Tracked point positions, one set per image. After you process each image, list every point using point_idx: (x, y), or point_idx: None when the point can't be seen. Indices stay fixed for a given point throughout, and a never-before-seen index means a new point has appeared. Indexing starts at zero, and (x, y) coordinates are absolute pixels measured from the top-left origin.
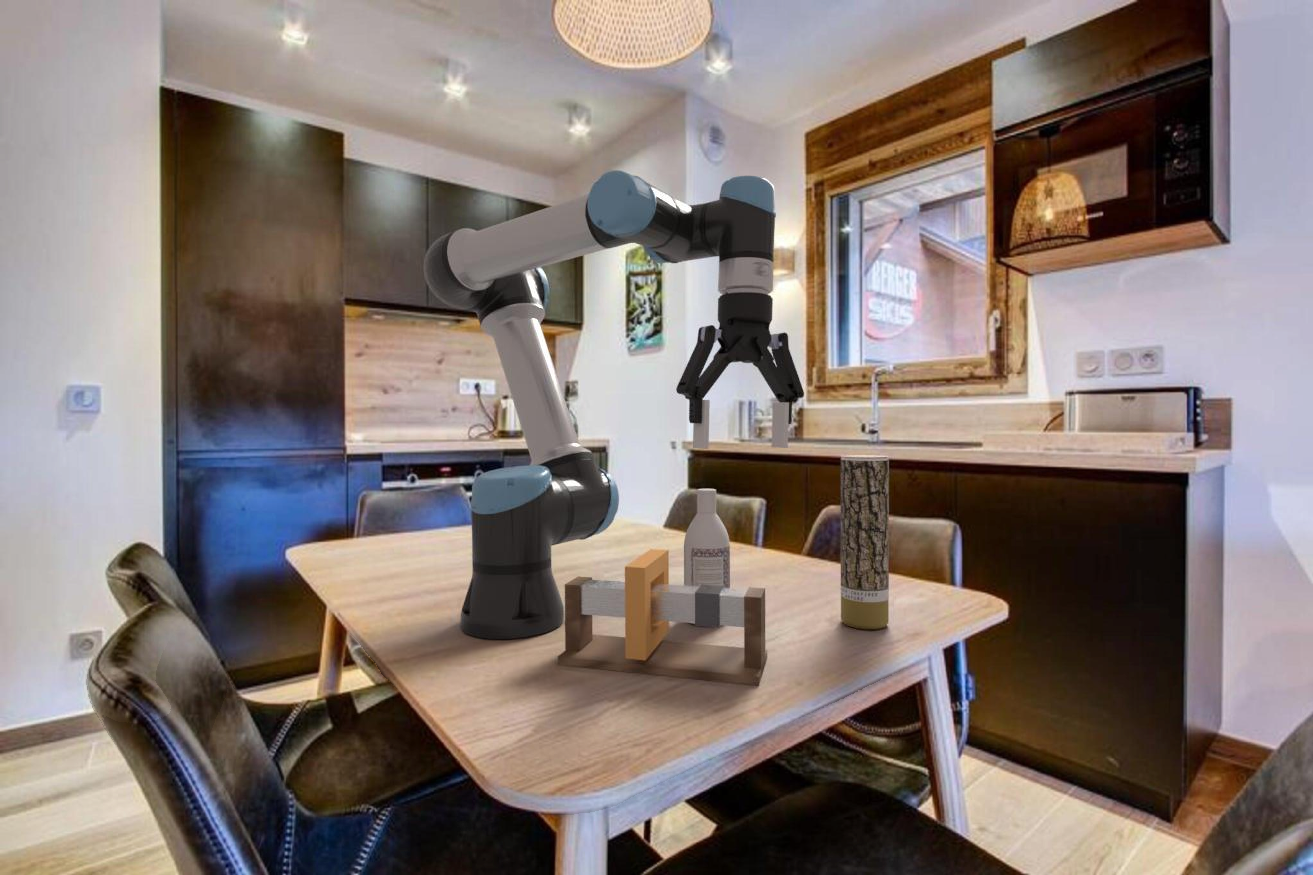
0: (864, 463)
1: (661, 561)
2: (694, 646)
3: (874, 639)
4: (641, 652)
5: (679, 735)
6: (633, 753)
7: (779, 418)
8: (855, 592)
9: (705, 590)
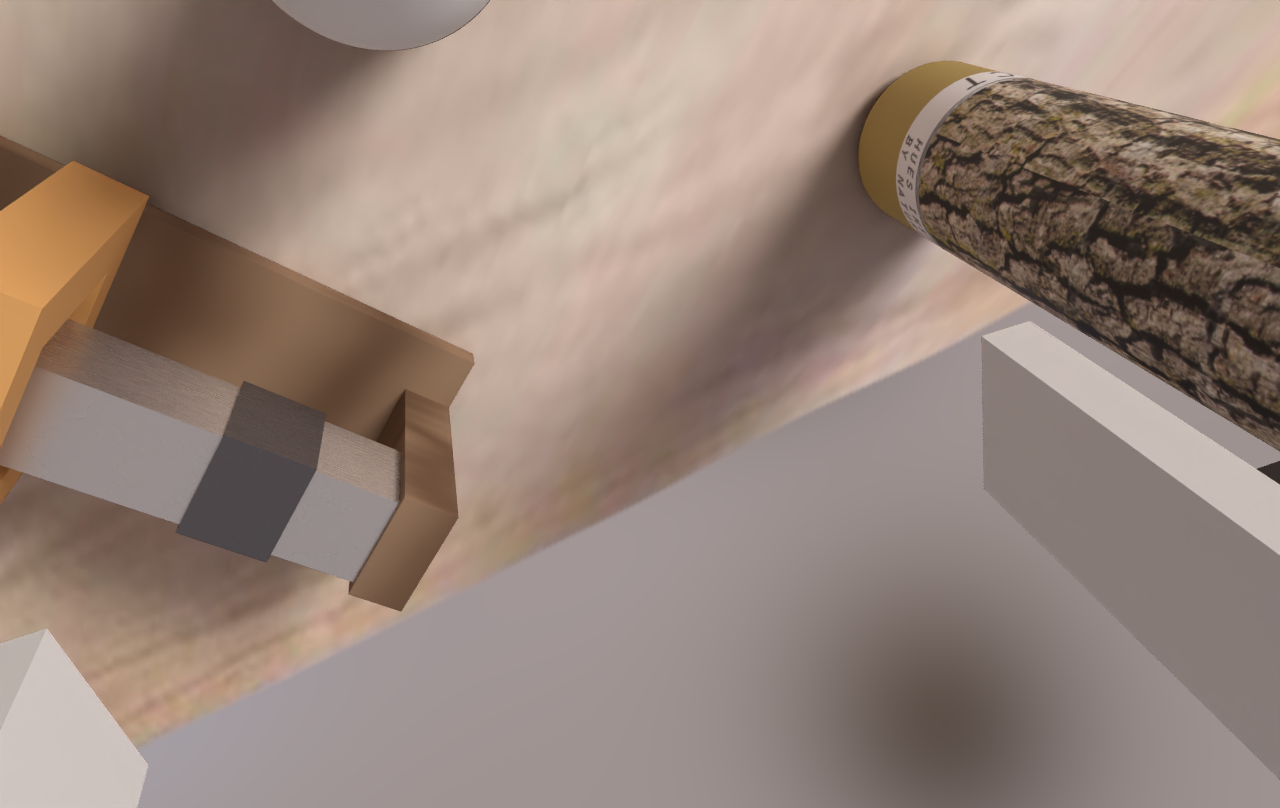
0: None
1: (6, 411)
2: (243, 287)
3: (851, 283)
4: None
5: (131, 695)
6: None
7: (1191, 617)
8: (919, 223)
9: (223, 511)
